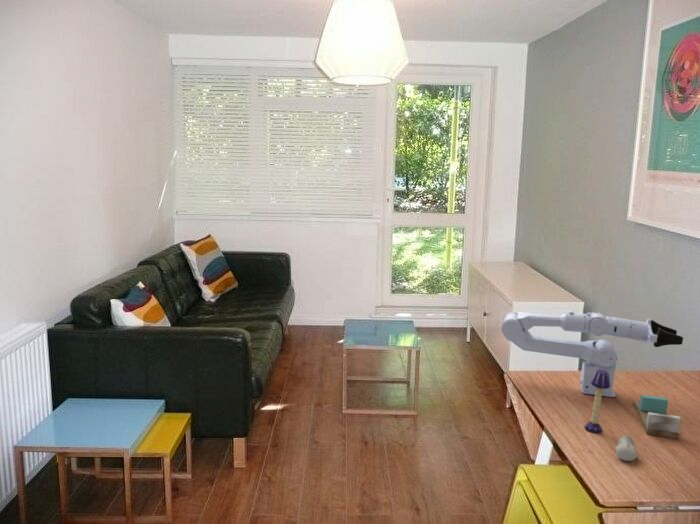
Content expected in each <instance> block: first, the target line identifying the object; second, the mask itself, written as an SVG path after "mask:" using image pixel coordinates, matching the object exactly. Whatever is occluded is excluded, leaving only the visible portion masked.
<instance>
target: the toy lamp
mask: <svg viewBox="0 0 700 524" xmlns="http://www.w3.org/2000/svg"><path fill="white" fill-rule="evenodd" d="M591 384H592V385H593V386H595V387H596V392H595V395H594V397H593V400H594V401H593V405H592V406H593V407H592V413H591V419H590V421H589V422H587V423H586V424H585V425H584V429H585V430H586V431H588V432H589V433H594V434H600V433H602V432H603V429H602V426H601V425H600V423H599V417H600V411H601V407H602V406H601V405H602V404H601V402H602V397H603V396H602V391H603V389H607V388H609V387H610V380H609V373H608V372H607V371H606V370H601V369H598V370H596V372H595V374H594V376H593V379H592V381H591Z"/></svg>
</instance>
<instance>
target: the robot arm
mask: <svg viewBox="0 0 700 524" xmlns="http://www.w3.org/2000/svg"><path fill="white" fill-rule="evenodd" d="M533 327H550V328H551V327H553V328H554V327H556V328H558V327H559V328H561V329H562V330H563V332H571V333H572V332H573V333H574V332H575V333H589V332H590V333H591V334H593V335H595V336H596V337H601V336H605V335H607V336H612V337H616V338H617V337H618V338H623V339H628V340H635V341H641V342H644V343H649V342H652V343H653V346H654V347H655V348H661V347H664V346H671V345H672V346H673V345H676V346H679V345H683V341H684V337H683V336H680V335H678V334H677V333H678V331H677V330H676V329H673V328H672V327H668V326H665V325H663V324H660V323H658V322H657V321H655V320H652V319H650V318H646V321H639V320H635V319H629V318H628V319H627V318H621V317H617V316H607V315H606V316H605V315H604V314H602V313H601V312H597V311H593V312H586V313H578V312H574V310H569V311H568V312H564V313H563V314H562V315H554V314H551V315H550V314H544V313H543V314H542V313H534V312H533V313H532V312H525V311H518V312H515V311H510V312H507V313H506V314H505V315H504V316H503V318H502V324H501V332H502V335H503V336H504V338H505V339H506V340H507V341H509V342H511V343H513V344H514V345H516V346H517V347H518V348H519V349H521V350H522V351H524V352H533V353H541V354H546V355H553V356H554V355H555V356H561V357H569V358H575V359H576V358H577V359H583V360H585V361H582V366H581V370H580V371H581V372H580V381H579V386H580V389H581V393H583V394H585V395H586V394H587V395H593V396H595V392H596V387H595V386H593V385H592V384H591V381H592V379H593V376H594V374H595V372H596V370H598V369H601V370H606V371H607V372H608V373H609V380H610V387H609V388H607V389H603V391H602V396H601V397H608V398H609V397H610V398H616V394H615V392H614V381H615V375H616V366H617V364H616V363H617V362H618V355H617V353H616V350H615V348H614V344H613V343H612V342H611V341H609V340H608V339H604V338H603V339H597V340H586V341H581V340H579V341H578V340H571V339H564V338H557V337H556V338H555V337H548V336H541V335H532V334H531V332H530V331H529V330H530V329H532V328H533Z"/></svg>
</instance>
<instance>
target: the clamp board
mask: <svg viewBox="0 0 700 524" xmlns="http://www.w3.org/2000/svg"><path fill="white" fill-rule="evenodd" d="M640 401H641V400H638V399H633V401H632V407H633V408H634V410H635V412H636V414H637V417H638V419H639V421H640V423H641V425H642V428H643V430H644V432H645V433H646V435H652V436H657V437H658V436H659V437H664V438H665V437H667V438H672V439H679V434H680V433H679V430H680V427H681V426H680V424H681V419H682V418H681V417H680V416H679V415H672V414H668V413H667V412H666V414H664V413H656V412H649V411H642V410H640Z"/></svg>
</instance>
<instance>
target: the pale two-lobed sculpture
mask: <svg viewBox="0 0 700 524" xmlns="http://www.w3.org/2000/svg"><path fill="white" fill-rule="evenodd" d="M634 442H635V441H634V439H633V438H632V437H631V436H630V435H622V436H621V437H620V438H619V439H618V441H617V445H616V447H615V454H616V455H617V457H618V458H619V459H620V460H622V461H625V462H633V461H635V460H636V458H638V457H639V454H638V452H637V449H636V448H635V446H634V444H635V443H634Z"/></svg>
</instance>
